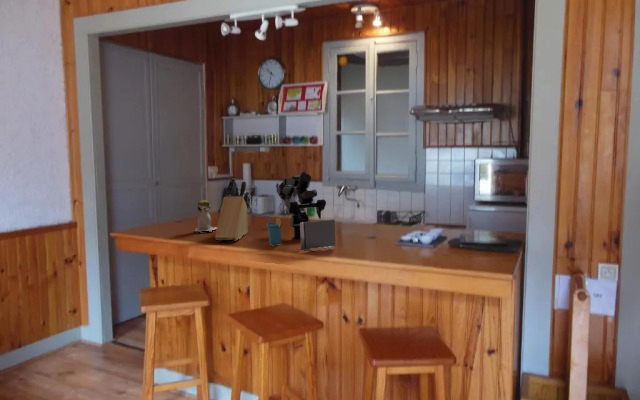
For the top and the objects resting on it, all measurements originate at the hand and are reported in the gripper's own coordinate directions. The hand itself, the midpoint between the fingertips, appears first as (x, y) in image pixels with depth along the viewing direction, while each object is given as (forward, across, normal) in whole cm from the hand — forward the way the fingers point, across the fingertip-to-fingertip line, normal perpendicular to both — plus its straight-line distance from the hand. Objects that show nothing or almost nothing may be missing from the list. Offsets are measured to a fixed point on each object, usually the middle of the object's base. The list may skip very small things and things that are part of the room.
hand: (311, 219), depth 234 cm
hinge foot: (+16, -8, +2) cm, 18 cm away
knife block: (-22, -30, +39) cm, 54 cm away
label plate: (+15, +1, +4) cm, 15 cm away
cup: (+1, -16, +17) cm, 24 cm away
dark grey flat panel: (+15, -1, +2) cm, 15 cm away
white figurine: (-39, -43, +55) cm, 79 cm away
